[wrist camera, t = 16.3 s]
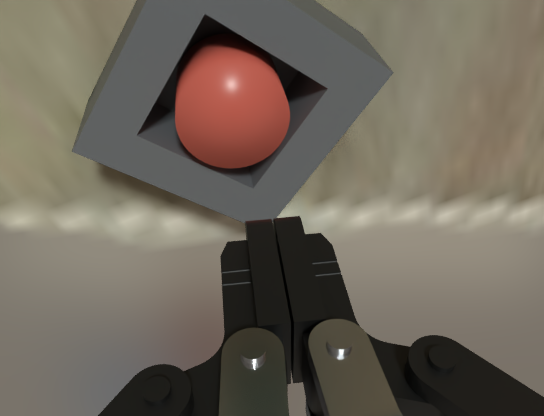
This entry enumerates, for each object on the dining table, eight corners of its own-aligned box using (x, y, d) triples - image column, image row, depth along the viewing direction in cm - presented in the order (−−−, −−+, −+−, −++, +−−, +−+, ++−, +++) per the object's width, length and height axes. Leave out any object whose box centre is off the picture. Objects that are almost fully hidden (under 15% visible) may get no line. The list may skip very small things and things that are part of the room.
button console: (362, 33, 21) (393, 72, 18) (254, 178, 25) (264, 231, 22) (181, -93, 17) (181, -72, 14) (87, 101, 21) (71, 151, 18)
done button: (297, 66, 20) (312, 101, 17) (243, 143, 21) (250, 183, 19) (207, 12, 18) (211, 42, 16) (158, 101, 20) (154, 139, 17)
